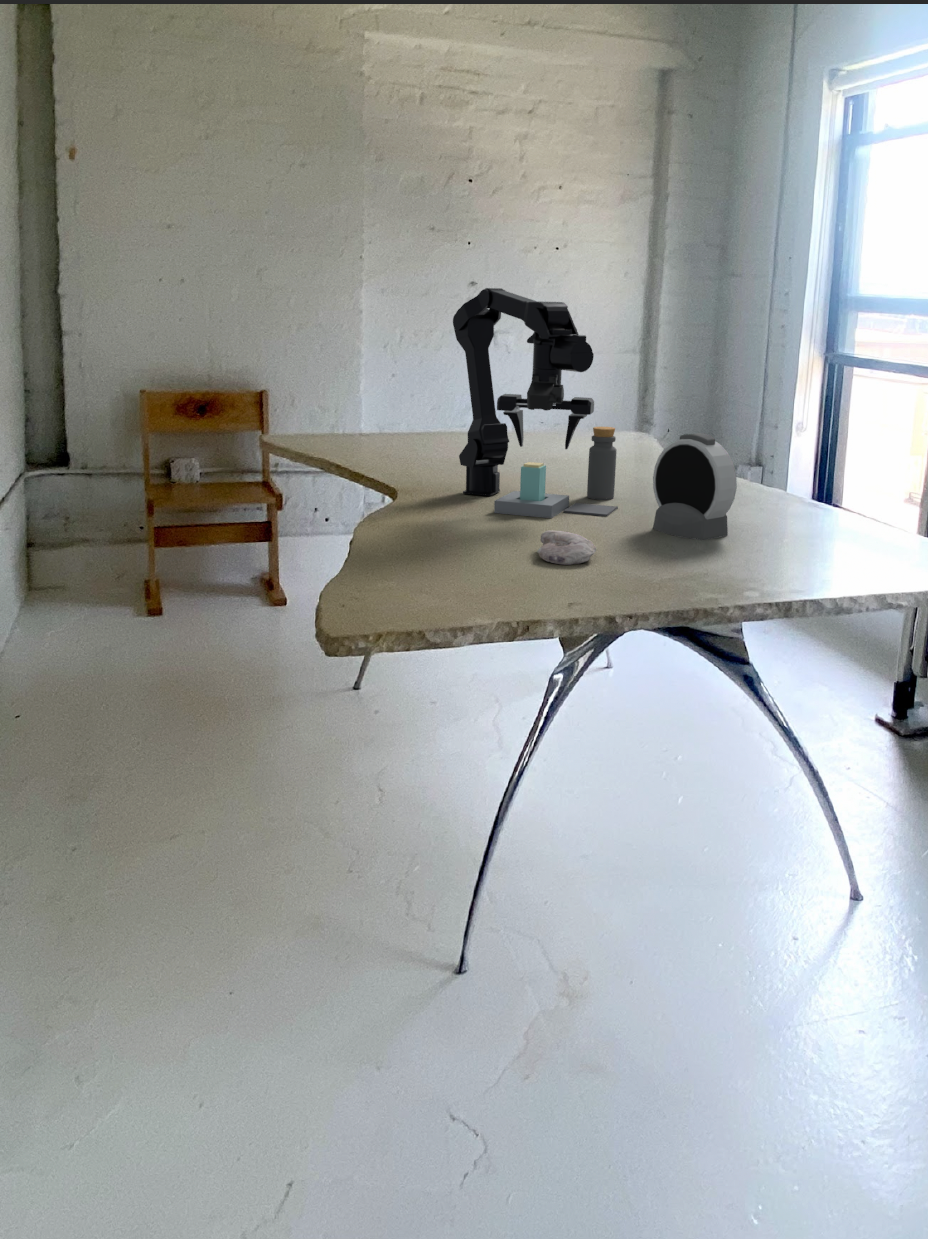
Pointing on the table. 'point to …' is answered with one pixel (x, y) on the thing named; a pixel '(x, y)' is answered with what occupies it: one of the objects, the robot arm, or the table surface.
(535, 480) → the plug
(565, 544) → the fossil
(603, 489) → the bottle
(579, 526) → the table surface
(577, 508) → the pad
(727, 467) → the alarm clock
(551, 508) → the grey square socket block
